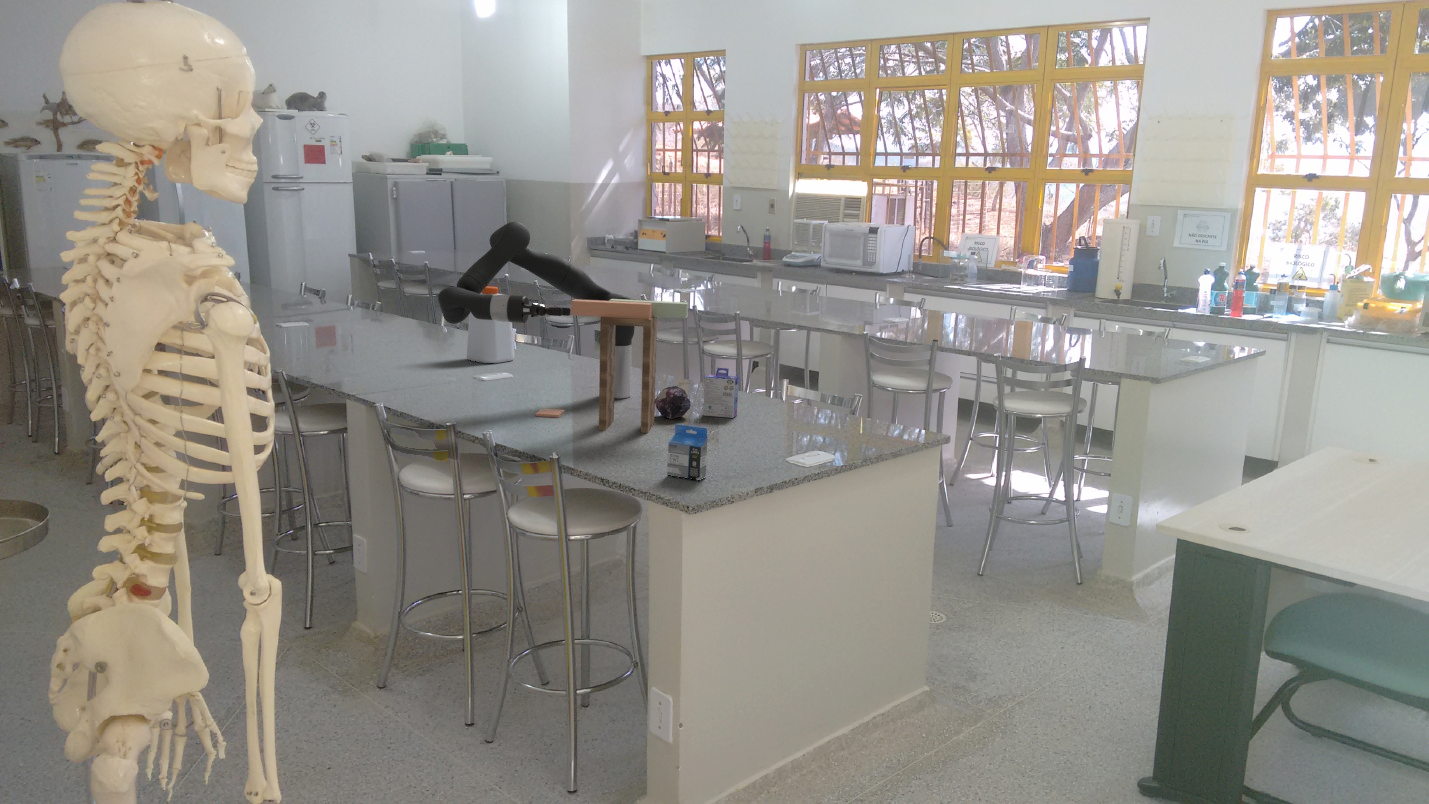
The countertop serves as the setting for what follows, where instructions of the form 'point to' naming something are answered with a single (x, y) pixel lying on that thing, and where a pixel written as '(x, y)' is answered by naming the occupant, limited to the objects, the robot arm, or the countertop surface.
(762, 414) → the countertop surface
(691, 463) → the label tape box
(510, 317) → the robot arm
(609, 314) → the terracotta rod
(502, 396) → the countertop surface
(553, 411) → the tile
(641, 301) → the sage rod
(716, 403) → the ink cartridge box
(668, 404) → the mineral specimen
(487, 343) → the plastic bottle
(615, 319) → the wooden stand
